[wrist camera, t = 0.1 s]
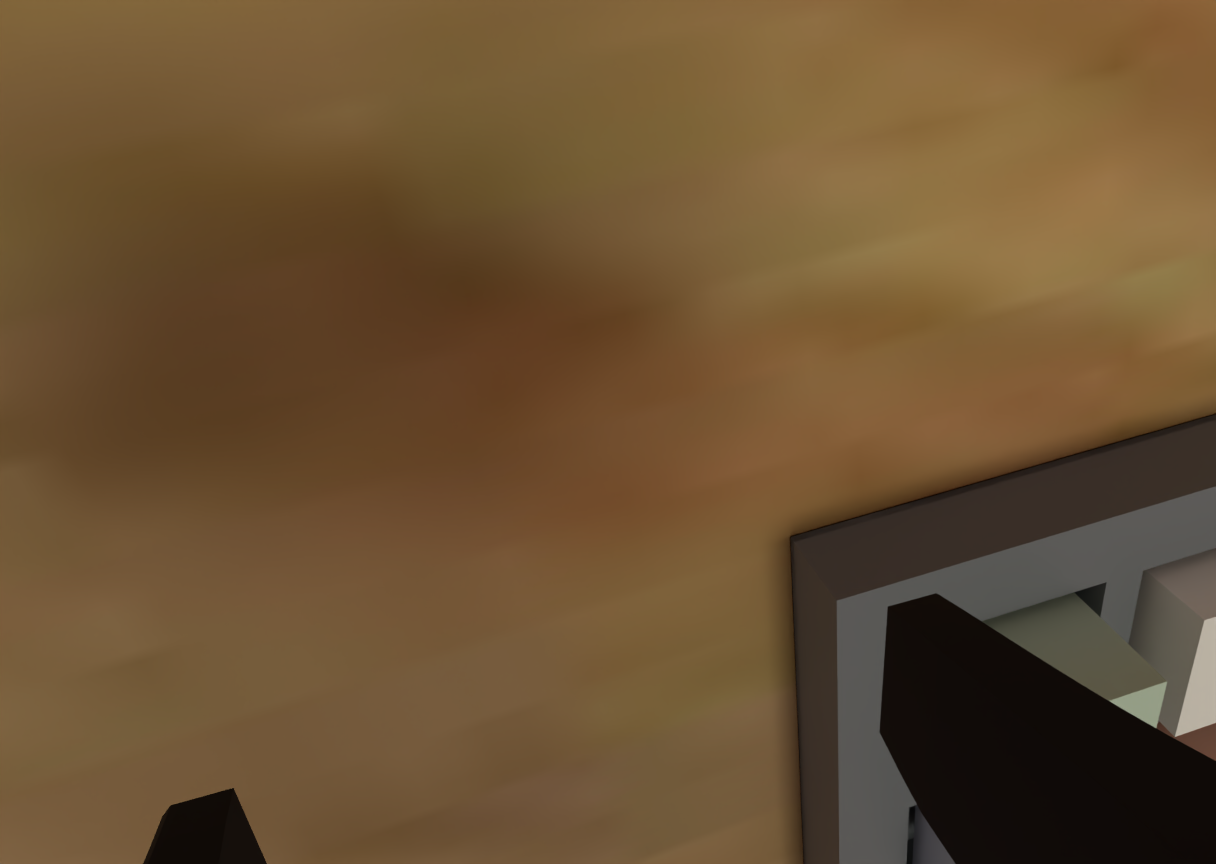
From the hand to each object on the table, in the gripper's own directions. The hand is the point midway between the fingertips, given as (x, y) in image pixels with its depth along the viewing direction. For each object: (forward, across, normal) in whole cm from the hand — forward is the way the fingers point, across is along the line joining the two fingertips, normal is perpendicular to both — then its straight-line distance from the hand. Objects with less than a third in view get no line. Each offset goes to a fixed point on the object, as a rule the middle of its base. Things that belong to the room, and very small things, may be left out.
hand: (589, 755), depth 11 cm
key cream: (+8, -17, +11) cm, 22 cm away
